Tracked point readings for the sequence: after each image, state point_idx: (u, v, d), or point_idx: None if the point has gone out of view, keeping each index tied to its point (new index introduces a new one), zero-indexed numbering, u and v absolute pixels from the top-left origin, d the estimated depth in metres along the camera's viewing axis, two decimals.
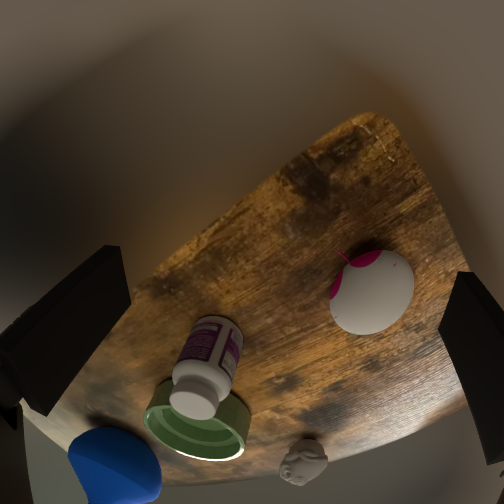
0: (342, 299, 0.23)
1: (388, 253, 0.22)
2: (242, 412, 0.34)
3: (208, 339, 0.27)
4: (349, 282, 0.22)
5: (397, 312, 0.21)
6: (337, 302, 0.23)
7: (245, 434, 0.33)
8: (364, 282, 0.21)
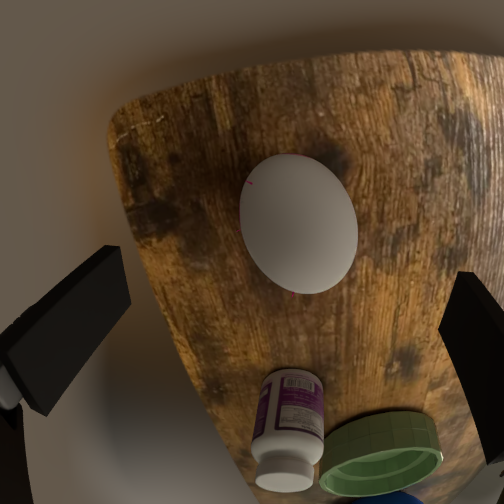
0: (266, 274, 0.16)
1: (247, 178, 0.16)
2: (401, 420, 0.24)
3: (261, 408, 0.22)
4: (250, 253, 0.16)
5: (318, 216, 0.13)
6: (272, 280, 0.16)
7: (422, 437, 0.22)
8: (250, 238, 0.15)
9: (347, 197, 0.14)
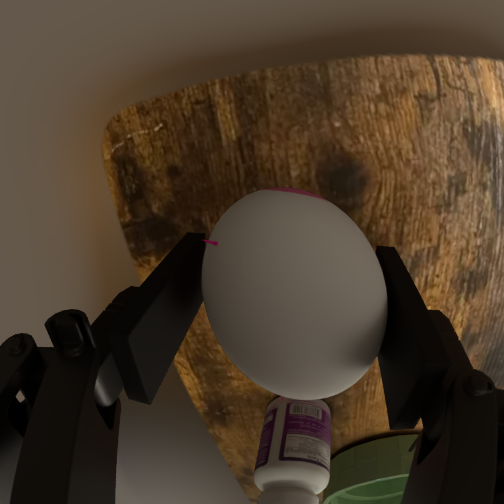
0: None
1: None
2: (410, 444, 0.21)
3: (266, 436, 0.20)
4: None
5: (328, 314, 0.07)
6: None
7: None
8: (215, 329, 0.09)
9: (377, 267, 0.08)
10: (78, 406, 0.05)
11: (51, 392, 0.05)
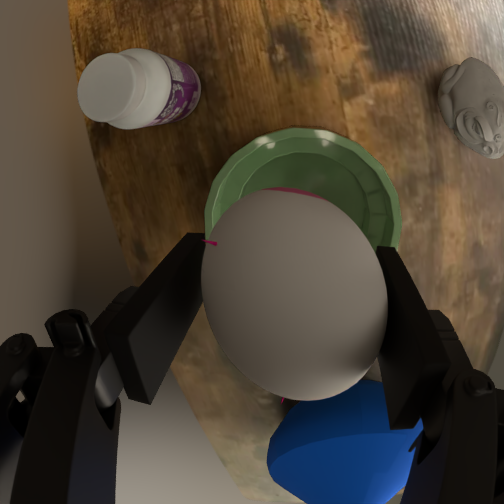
0: None
1: (213, 228, 0.10)
2: (310, 126, 0.20)
3: None
4: None
5: (328, 314, 0.07)
6: None
7: (342, 135, 0.18)
8: (215, 330, 0.09)
9: (377, 267, 0.08)
10: (78, 406, 0.05)
11: (51, 392, 0.05)
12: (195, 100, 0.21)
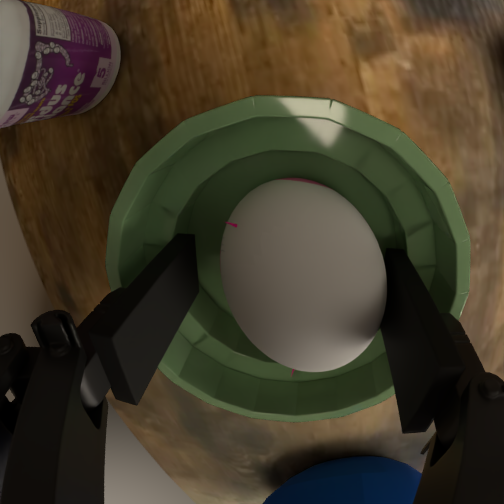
0: (258, 348, 0.11)
1: None
2: None
3: None
4: (235, 318, 0.11)
5: (336, 285, 0.08)
6: None
7: None
8: (233, 304, 0.10)
9: (377, 247, 0.10)
10: (64, 405, 0.05)
11: (38, 391, 0.05)
12: (108, 72, 0.11)
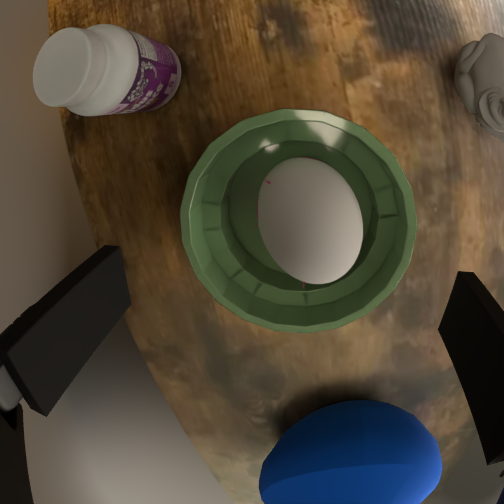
0: (281, 265, 0.18)
1: None
2: None
3: None
4: (266, 245, 0.18)
5: (328, 213, 0.15)
6: (285, 271, 0.18)
7: None
8: (267, 232, 0.17)
9: (354, 197, 0.16)
10: None
11: None
12: (174, 84, 0.18)
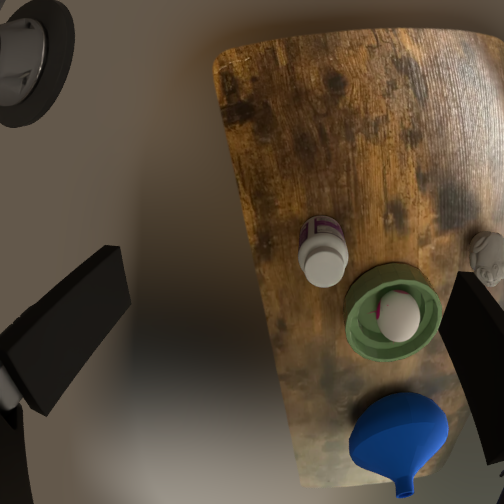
0: (386, 336, 0.37)
1: (383, 300, 0.37)
2: (402, 267, 0.37)
3: (303, 233, 0.35)
4: (381, 328, 0.37)
5: (410, 319, 0.35)
6: (386, 337, 0.38)
7: (420, 278, 0.35)
8: (384, 324, 0.36)
9: (418, 309, 0.36)
10: None
11: None
12: None
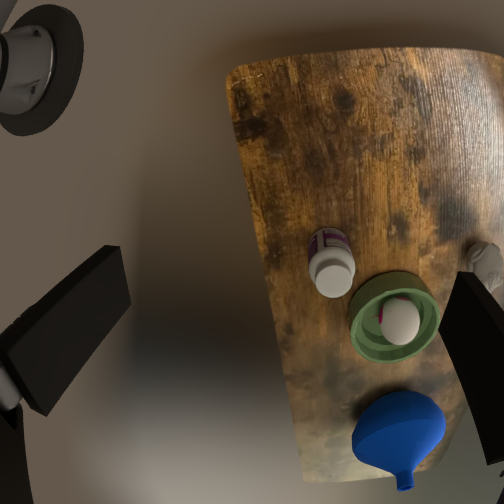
0: (388, 339, 0.40)
1: (385, 306, 0.39)
2: (404, 276, 0.39)
3: (313, 246, 0.37)
4: (383, 332, 0.40)
5: (411, 324, 0.37)
6: None
7: (420, 286, 0.37)
8: (386, 329, 0.39)
9: (418, 314, 0.38)
10: None
11: None
12: None
